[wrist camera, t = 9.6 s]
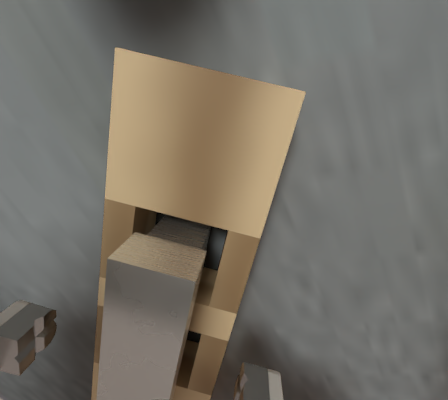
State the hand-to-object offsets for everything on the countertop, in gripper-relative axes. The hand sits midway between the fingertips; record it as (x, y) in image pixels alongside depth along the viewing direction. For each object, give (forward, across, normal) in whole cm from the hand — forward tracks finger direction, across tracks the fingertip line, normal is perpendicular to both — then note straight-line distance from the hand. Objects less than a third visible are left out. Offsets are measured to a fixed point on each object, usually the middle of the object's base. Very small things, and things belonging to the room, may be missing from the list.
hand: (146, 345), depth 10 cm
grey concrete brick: (+5, 0, 0) cm, 5 cm away
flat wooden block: (+5, 0, 0) cm, 5 cm away
